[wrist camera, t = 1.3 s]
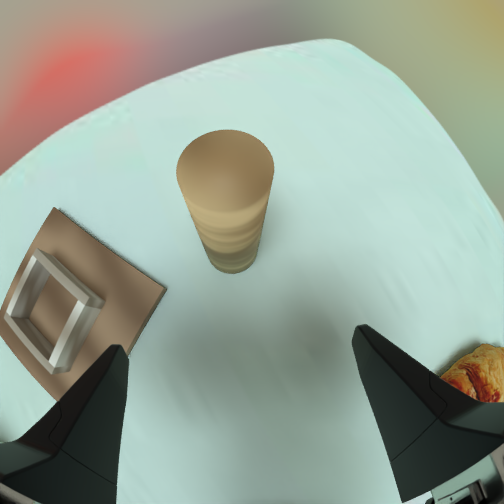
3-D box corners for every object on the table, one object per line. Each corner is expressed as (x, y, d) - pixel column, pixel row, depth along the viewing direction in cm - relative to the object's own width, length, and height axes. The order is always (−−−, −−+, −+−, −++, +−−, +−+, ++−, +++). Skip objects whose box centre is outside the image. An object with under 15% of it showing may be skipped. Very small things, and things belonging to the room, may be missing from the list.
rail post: (241, 283, 24) (242, 229, 11) (197, 257, 24) (157, 182, 12) (266, 240, 25) (290, 153, 12) (223, 217, 25) (211, 118, 13)
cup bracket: (91, 425, 19) (70, 436, 15) (-1, 327, 21) (-24, 324, 17) (166, 289, 23) (153, 281, 19) (58, 210, 25) (39, 194, 21)
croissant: (496, 346, 26) (530, 314, 20) (514, 405, 19) (554, 380, 13) (382, 385, 24) (422, 354, 19) (400, 470, 17) (448, 462, 12)
